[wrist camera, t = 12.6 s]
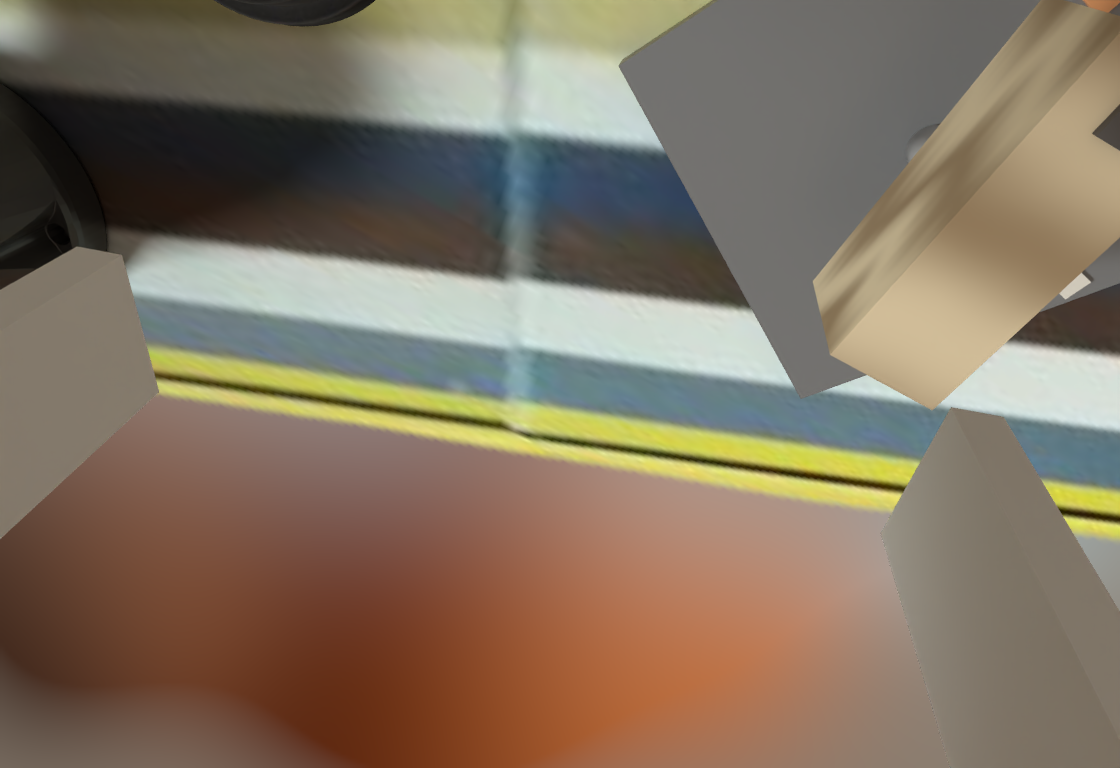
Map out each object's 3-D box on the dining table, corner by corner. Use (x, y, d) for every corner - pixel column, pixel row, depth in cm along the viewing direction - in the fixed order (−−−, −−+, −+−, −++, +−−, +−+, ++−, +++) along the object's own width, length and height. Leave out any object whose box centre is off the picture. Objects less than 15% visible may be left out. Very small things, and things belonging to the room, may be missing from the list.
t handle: (898, 328, 30) (934, 415, 25) (812, 281, 30) (831, 359, 25) (1152, 62, 23) (1271, 106, 18) (1045, -6, 23) (1137, 20, 18)
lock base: (798, 383, 40) (808, 449, 35) (622, 59, 32) (604, 87, 27) (1233, 221, 31) (1327, 279, 26) (1135, -279, 23) (1242, -325, 19)
